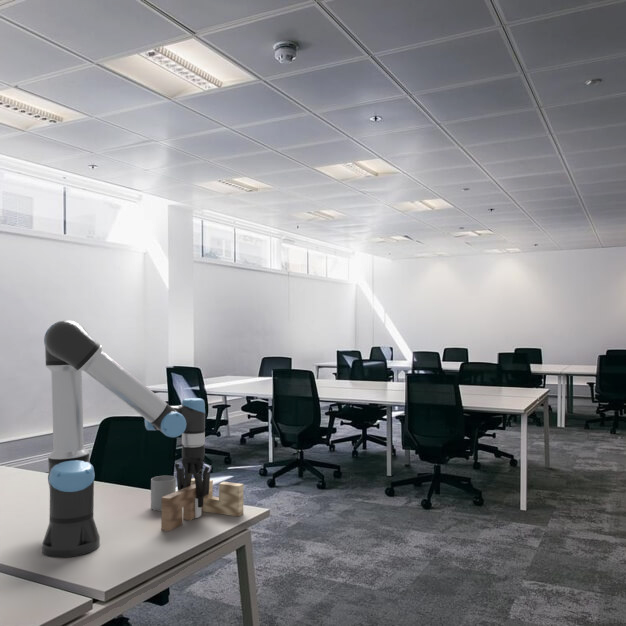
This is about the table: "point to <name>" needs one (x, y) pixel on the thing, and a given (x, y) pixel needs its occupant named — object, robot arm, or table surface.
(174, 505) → the walnut plate
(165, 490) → the cup
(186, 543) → the table surface
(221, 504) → the notched wooden slab
